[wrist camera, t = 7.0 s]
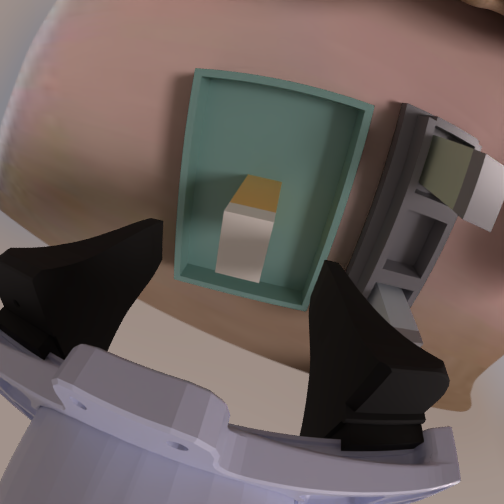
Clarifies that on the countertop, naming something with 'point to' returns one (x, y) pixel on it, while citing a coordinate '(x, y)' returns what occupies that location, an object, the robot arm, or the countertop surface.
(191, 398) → the robot arm
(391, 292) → the grey rectangular block
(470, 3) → the ceramic bowl
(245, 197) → the block
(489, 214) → the block
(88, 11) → the countertop surface
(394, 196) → the fuse holder
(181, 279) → the parts tray
